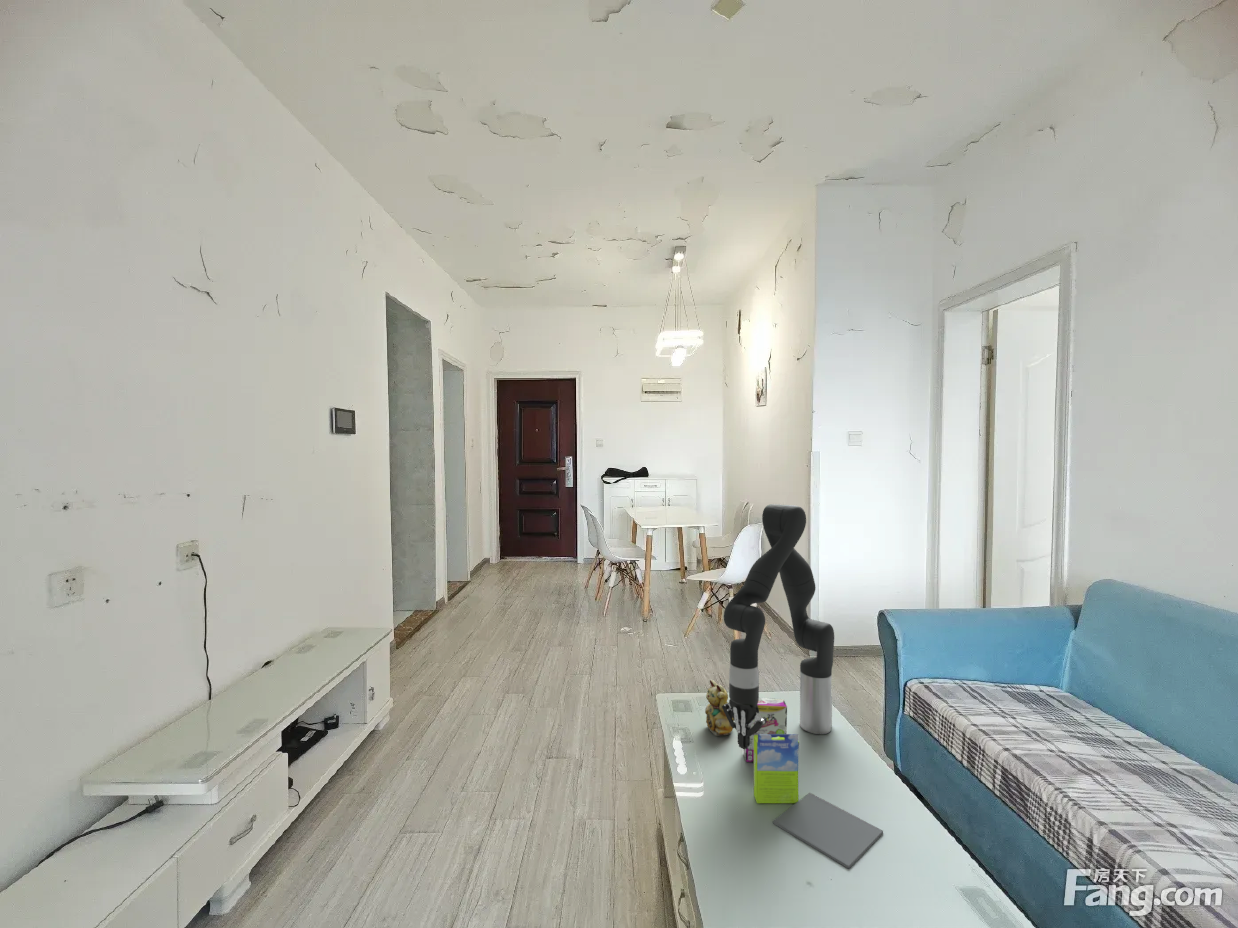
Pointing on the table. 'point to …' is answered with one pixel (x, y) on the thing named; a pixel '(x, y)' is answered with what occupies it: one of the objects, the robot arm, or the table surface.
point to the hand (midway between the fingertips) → (743, 747)
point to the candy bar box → (769, 722)
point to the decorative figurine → (717, 710)
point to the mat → (829, 829)
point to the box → (776, 768)
